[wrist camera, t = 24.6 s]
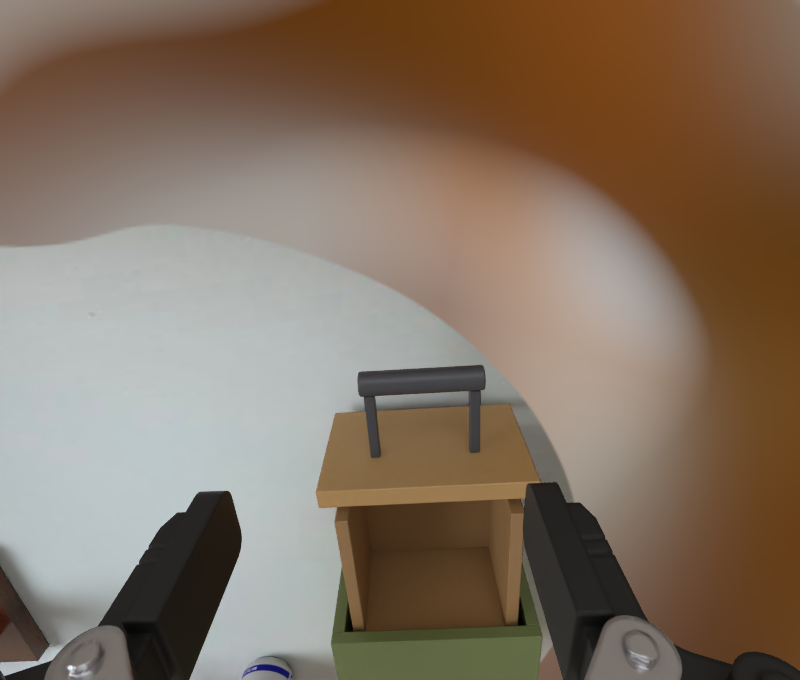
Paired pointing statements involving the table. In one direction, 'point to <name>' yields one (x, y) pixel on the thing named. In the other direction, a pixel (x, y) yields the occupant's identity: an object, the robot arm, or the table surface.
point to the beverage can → (268, 670)
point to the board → (17, 628)
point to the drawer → (428, 504)
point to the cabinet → (439, 648)
